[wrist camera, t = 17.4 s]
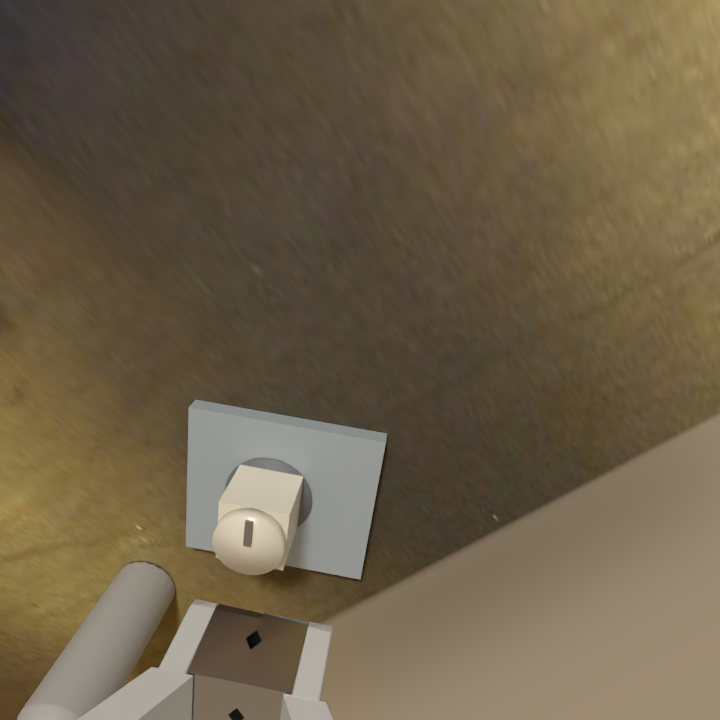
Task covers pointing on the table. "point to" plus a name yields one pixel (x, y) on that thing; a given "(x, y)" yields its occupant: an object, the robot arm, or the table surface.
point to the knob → (257, 520)
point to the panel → (293, 456)
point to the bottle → (104, 645)
